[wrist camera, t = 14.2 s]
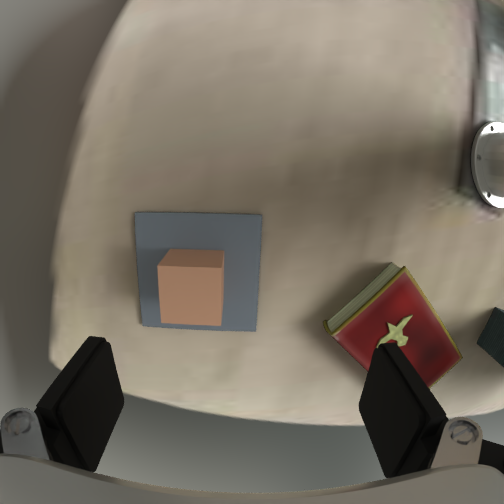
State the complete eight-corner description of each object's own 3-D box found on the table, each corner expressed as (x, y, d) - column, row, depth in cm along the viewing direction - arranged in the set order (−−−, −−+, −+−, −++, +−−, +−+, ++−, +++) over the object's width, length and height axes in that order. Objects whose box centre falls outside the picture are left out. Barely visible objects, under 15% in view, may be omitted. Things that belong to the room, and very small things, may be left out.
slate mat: (261, 214, 34) (262, 215, 34) (255, 329, 38) (256, 331, 37) (136, 211, 33) (134, 212, 33) (143, 323, 37) (142, 326, 37)
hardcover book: (395, 394, 43) (405, 410, 39) (321, 321, 39) (329, 338, 34) (450, 345, 41) (463, 358, 37) (391, 256, 37) (406, 267, 33)
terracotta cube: (224, 250, 34) (221, 267, 29) (223, 300, 36) (221, 325, 30) (170, 248, 34) (157, 265, 28) (172, 298, 36) (161, 322, 30)
